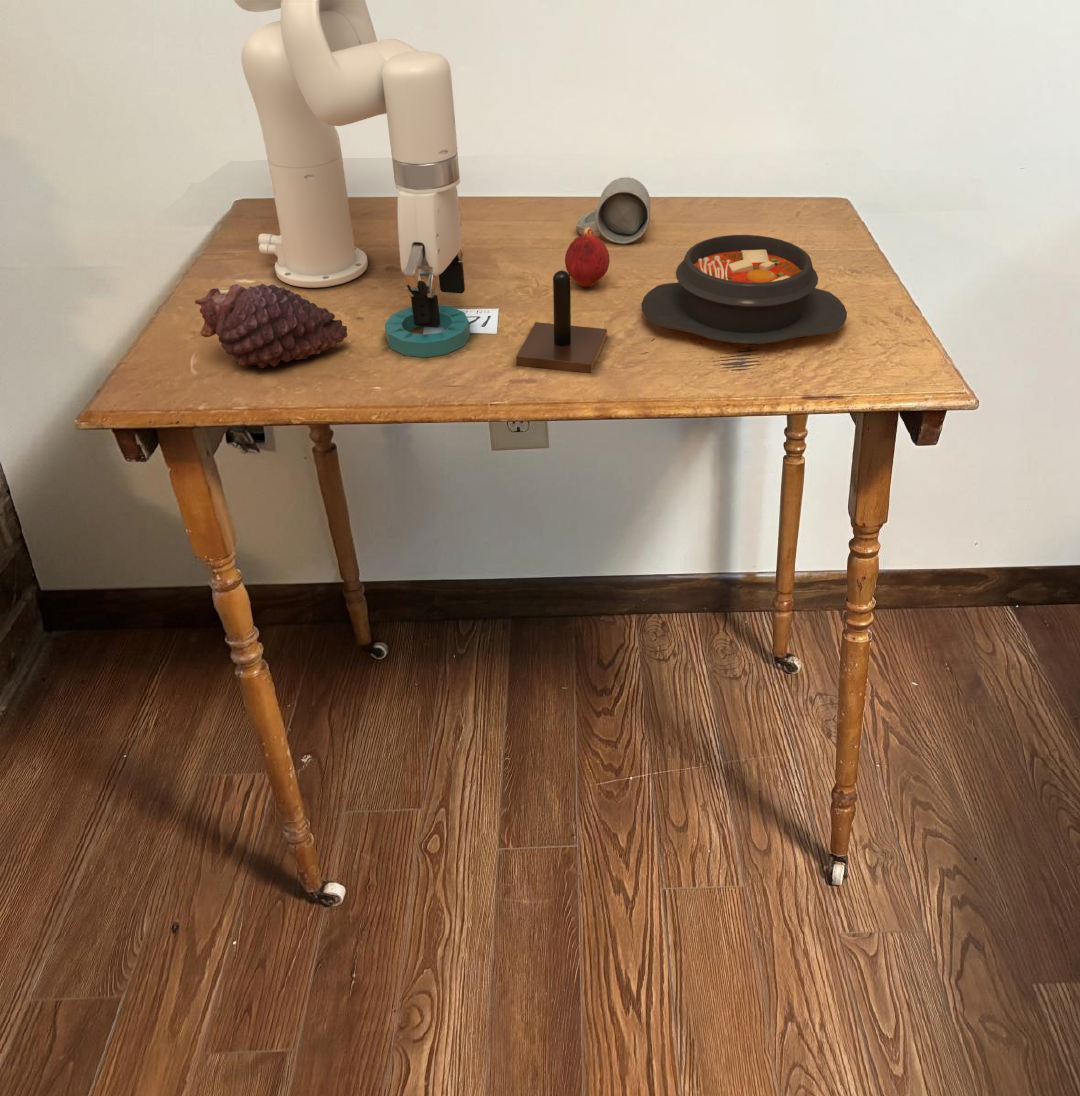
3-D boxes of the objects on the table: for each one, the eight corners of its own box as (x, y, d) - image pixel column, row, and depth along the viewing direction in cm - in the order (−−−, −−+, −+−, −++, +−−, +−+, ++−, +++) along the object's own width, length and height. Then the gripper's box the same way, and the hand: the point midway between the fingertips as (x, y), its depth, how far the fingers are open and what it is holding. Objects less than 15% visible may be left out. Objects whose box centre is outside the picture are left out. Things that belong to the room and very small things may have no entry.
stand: (516, 365, 129) (513, 284, 123) (535, 330, 136) (533, 252, 130) (591, 373, 127) (591, 291, 121) (606, 337, 134) (608, 258, 128)
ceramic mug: (650, 222, 162) (651, 170, 157) (649, 244, 156) (650, 191, 151) (578, 222, 163) (577, 171, 158) (574, 245, 156) (573, 191, 152)
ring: (375, 352, 132) (373, 337, 131) (404, 315, 140) (402, 301, 139) (454, 360, 130) (453, 345, 129) (479, 323, 138) (478, 308, 137)
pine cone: (344, 326, 138) (355, 279, 129) (339, 394, 134) (351, 351, 125) (197, 303, 133) (198, 253, 124) (188, 374, 129) (188, 327, 120)
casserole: (635, 353, 131) (638, 287, 125) (645, 286, 145) (647, 224, 140) (850, 363, 128) (862, 296, 122) (838, 293, 142) (848, 231, 137)
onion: (605, 298, 143) (606, 239, 138) (561, 295, 144) (560, 236, 139) (611, 279, 147) (613, 221, 142) (569, 276, 148) (569, 218, 143)
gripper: (420, 145, 133) (434, 278, 144) (368, 195, 120) (387, 337, 131) (479, 148, 132) (489, 282, 142) (432, 198, 119) (447, 342, 129)
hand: (440, 308), depth 136 cm, fingers open, 9 cm apart
